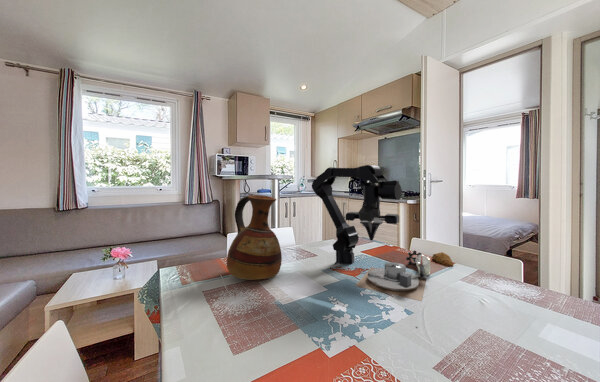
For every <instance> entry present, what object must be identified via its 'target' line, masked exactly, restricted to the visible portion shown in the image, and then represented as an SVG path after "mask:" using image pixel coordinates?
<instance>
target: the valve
mask: <svg viewBox="0 0 600 382" xmlns="http://www.w3.org/2000/svg"><path fill="white" fill-rule="evenodd" d="M412 252H413V253H412ZM412 252H410V251H409V252H408V253H407V255H408V256H406V257H405V260H406V261H408V262H407V264H408V265H409V266H411V265H414V266H416V267H417V271H418V272H417V273H418V274H420V266H418V265H417V264H416V262H415V258H416V257H417V256H418V255H423V254H422V252H417V251H416V250H413V251H412ZM427 258H428V261H429V262H428V265H427V266H426V267H424V275H427V276H431V273H430V272H431V269H432V267H431V259H430V258H429V257H427Z"/></svg>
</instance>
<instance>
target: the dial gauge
mask: <svg viewBox="0 0 600 382" xmlns="http://www.w3.org/2000/svg"><path fill="white" fill-rule="evenodd" d="M415 257H416V258H415V262H416V264H417V265H418V266H420V274H419V273H418V272H417V274H416V275H417V276H416V277H417V278H418V279H421V280H426V281H427V280H428V275H424V267H426V266H427V265H428V262H429V261H428V258H429V257H427V256H426V255H424V254H422V255H418V256H417V255H416V256H415ZM415 262H414V263H415ZM417 265H416V266H417Z"/></svg>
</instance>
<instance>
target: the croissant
mask: <svg viewBox="0 0 600 382" xmlns="http://www.w3.org/2000/svg"><path fill="white" fill-rule="evenodd" d="M431 258H432V260H433V261H434V262H435V263H438V264H440V265H443V266H446V267H450V268H454V262H453V261H452V259H451V256H450V255H449V254H447V253H445V252H438V253H434V254H432V256H431Z"/></svg>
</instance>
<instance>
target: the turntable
mask: <svg viewBox="0 0 600 382" xmlns="http://www.w3.org/2000/svg"><path fill="white" fill-rule="evenodd" d="M368 271H369V270H368ZM368 271H367V272H368ZM384 273H385V267H378V268H377V269H373V270H371V271H369V272H368V280H369V282H370V283H372V284H373V285H375V286H377V287H379V288H382V289H386V290H391V291H411V290H414V289H416V288H418V286H419V279H418V278H417V277H416V276H415V273H414V274H413V273H412V272H409V271H407V270H406V273H402V274H400V282H392V281H389V280H387V279H385V278H384Z"/></svg>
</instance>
